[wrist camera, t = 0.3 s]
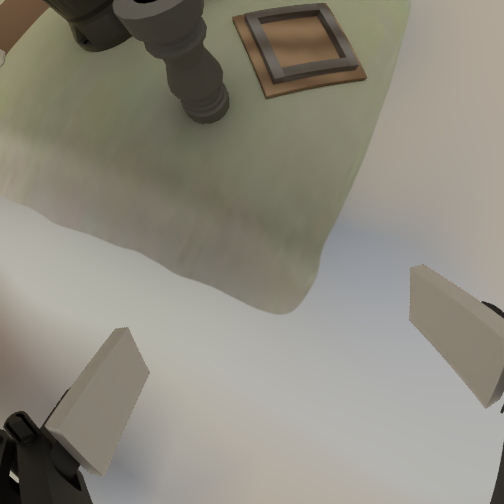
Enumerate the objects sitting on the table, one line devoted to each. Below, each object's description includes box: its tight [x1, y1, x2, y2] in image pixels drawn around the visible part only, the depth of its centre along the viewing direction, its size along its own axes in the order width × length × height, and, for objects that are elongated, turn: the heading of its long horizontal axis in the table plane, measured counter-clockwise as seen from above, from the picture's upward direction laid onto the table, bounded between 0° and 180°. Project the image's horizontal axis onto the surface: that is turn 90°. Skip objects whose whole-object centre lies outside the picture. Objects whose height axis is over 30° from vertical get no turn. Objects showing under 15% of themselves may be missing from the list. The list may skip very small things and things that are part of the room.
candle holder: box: [113, 0, 229, 124], centre depth 22 cm, size 6×6×25 cm
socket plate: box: [232, 3, 367, 99], centre depth 31 cm, size 16×16×3 cm
